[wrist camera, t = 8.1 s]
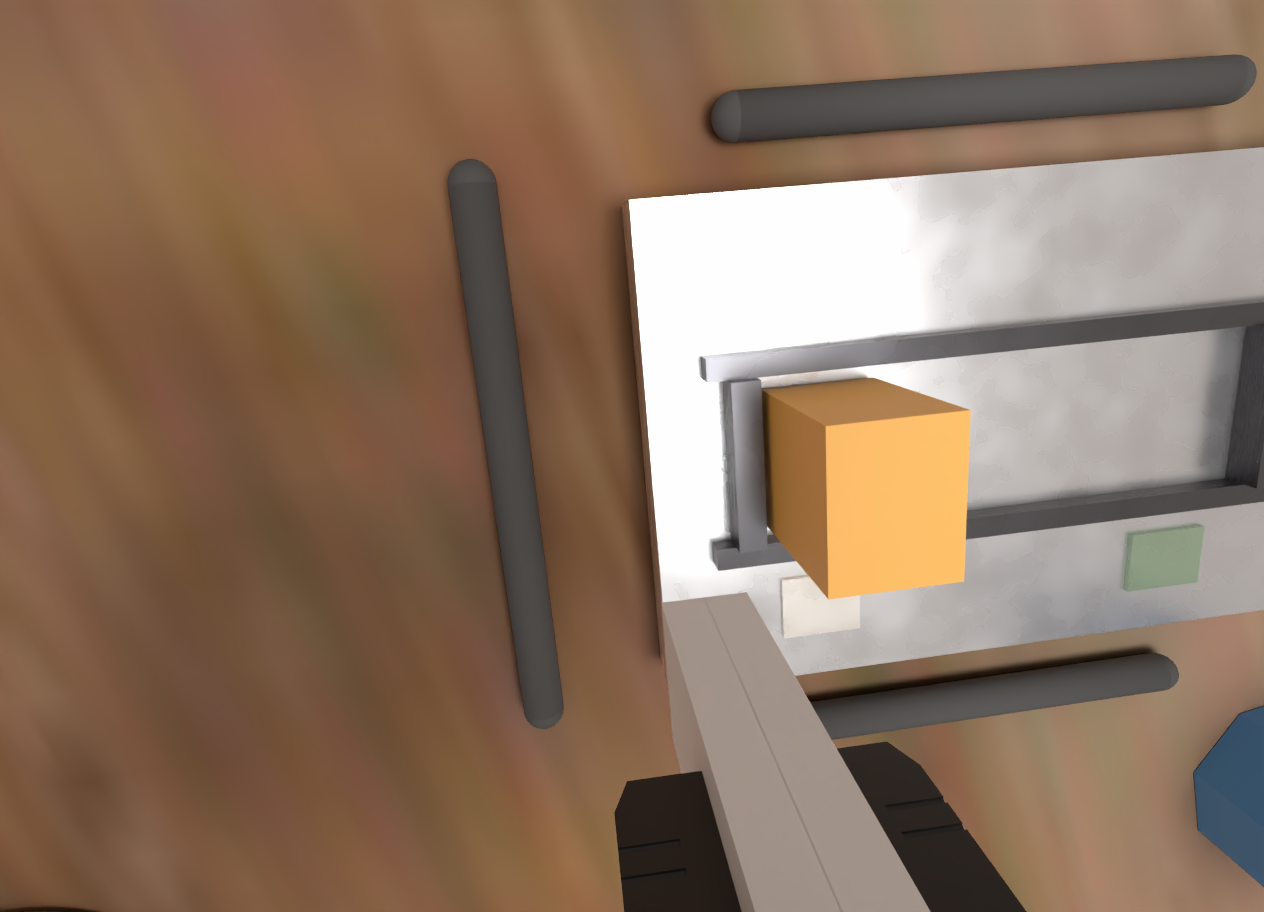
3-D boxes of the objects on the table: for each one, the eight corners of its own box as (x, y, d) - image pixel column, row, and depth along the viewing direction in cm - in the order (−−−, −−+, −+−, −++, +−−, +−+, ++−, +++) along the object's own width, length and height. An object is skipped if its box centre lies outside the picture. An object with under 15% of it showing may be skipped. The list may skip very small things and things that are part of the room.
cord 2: (740, 736, 31) (749, 760, 30) (738, 704, 31) (748, 727, 29) (1156, 675, 33) (1186, 695, 31) (1159, 644, 32) (1190, 663, 31)
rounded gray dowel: (565, 710, 30) (566, 734, 28) (527, 715, 30) (526, 739, 28) (495, 161, 24) (490, 153, 23) (447, 165, 24) (440, 157, 23)
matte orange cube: (766, 525, 26) (828, 599, 20) (761, 389, 24) (825, 426, 19) (873, 512, 26) (964, 581, 20) (873, 377, 25) (970, 410, 19)
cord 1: (707, 147, 25) (718, 139, 23) (705, 97, 25) (715, 86, 23) (1224, 107, 27) (1265, 97, 25) (1230, 60, 26) (1272, 47, 25)
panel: (660, 659, 30) (675, 713, 26) (621, 206, 25) (633, 195, 21) (1232, 581, 32) (1320, 621, 28) (1295, 150, 27) (1411, 131, 24)
